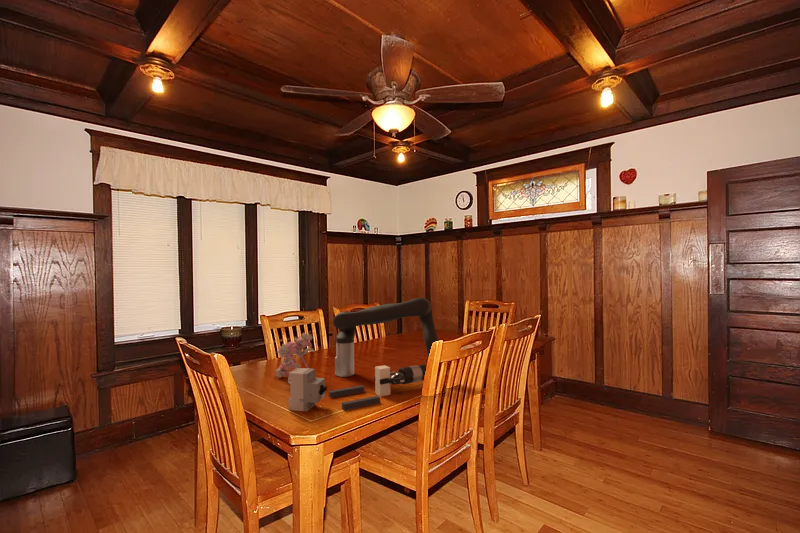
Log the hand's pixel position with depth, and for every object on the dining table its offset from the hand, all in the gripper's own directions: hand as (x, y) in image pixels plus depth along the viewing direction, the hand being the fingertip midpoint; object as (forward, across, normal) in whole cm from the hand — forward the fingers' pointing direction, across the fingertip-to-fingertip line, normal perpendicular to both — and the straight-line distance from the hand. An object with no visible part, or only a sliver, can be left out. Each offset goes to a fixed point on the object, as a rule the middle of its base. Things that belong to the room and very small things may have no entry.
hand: (377, 380), depth 172 cm
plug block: (-3, 0, +6) cm, 7 cm away
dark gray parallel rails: (+11, 0, +6) cm, 13 cm away
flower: (+27, -47, +7) cm, 54 cm away
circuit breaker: (+31, -1, +7) cm, 31 cm away
